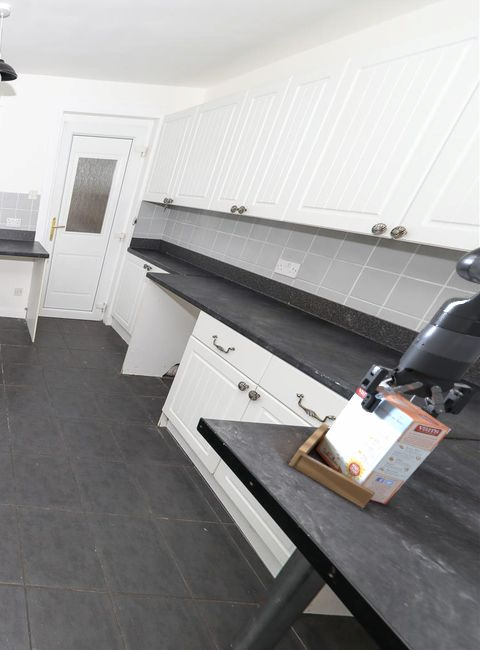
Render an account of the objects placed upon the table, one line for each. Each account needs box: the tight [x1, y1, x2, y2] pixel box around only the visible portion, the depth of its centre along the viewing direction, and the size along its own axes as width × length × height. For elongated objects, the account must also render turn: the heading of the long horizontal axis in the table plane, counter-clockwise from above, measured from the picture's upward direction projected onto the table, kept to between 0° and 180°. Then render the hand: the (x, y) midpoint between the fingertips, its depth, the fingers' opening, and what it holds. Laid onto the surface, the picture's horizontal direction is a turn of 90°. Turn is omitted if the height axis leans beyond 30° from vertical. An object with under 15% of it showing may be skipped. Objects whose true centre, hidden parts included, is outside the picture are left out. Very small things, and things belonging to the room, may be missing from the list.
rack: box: [288, 422, 375, 509], centre depth 77 cm, size 19×12×5 cm, turn 122°
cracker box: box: [315, 386, 452, 505], centre depth 72 cm, size 14×6×21 cm, turn 160°
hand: (392, 417), depth 70 cm, fingers open, 8 cm apart
